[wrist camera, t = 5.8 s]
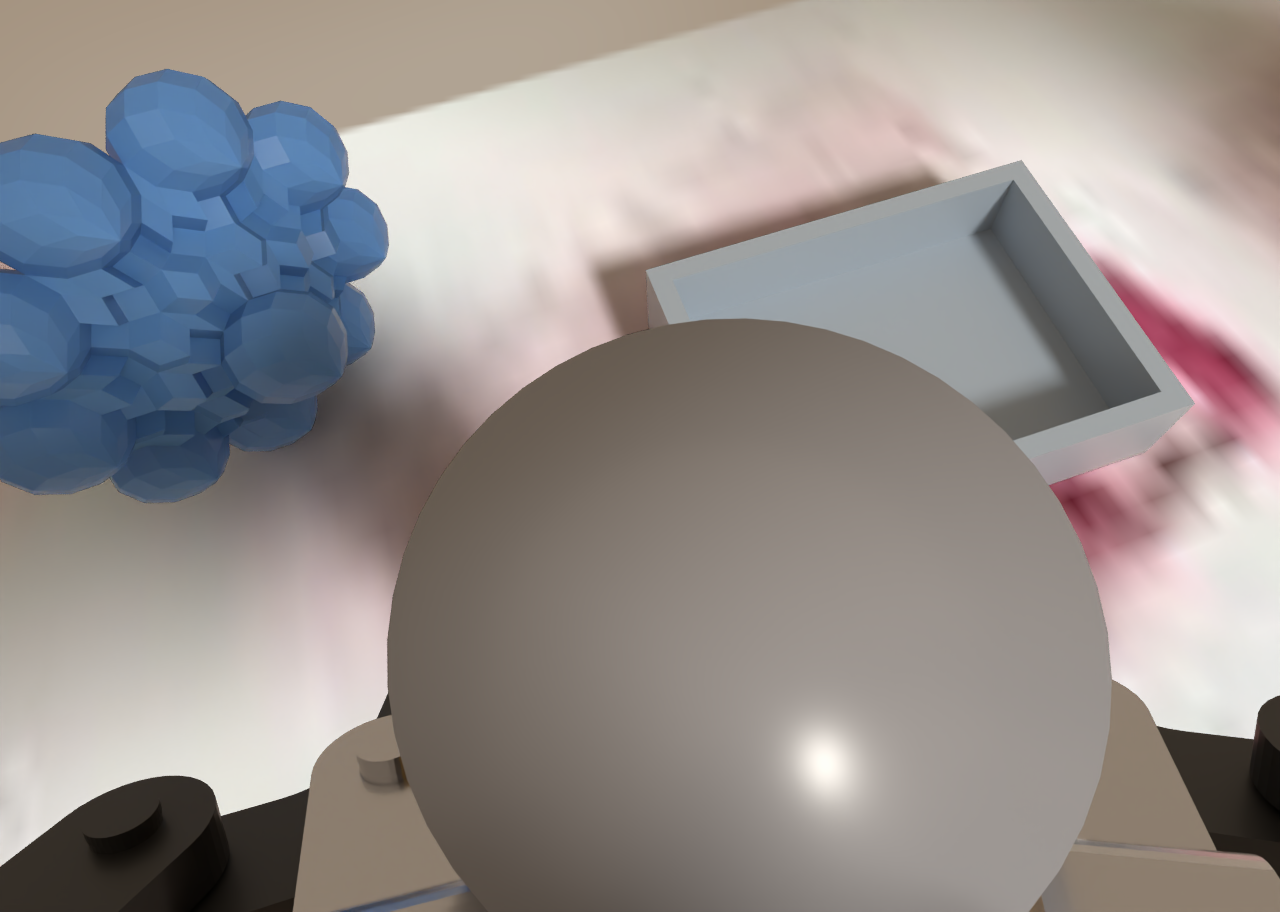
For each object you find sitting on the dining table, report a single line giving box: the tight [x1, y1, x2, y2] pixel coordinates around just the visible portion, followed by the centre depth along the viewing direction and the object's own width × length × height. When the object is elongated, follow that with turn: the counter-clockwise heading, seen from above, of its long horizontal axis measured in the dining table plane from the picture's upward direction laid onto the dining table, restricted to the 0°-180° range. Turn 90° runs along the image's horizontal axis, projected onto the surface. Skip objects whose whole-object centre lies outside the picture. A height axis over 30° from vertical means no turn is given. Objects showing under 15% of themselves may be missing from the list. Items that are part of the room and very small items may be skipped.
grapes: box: [0, 69, 389, 503], centre depth 22 cm, size 12×7×12 cm, turn 150°
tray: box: [646, 160, 1195, 485], centre depth 26 cm, size 12×9×3 cm
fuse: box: [387, 318, 1112, 912], centre depth 11 cm, size 4×4×12 cm
